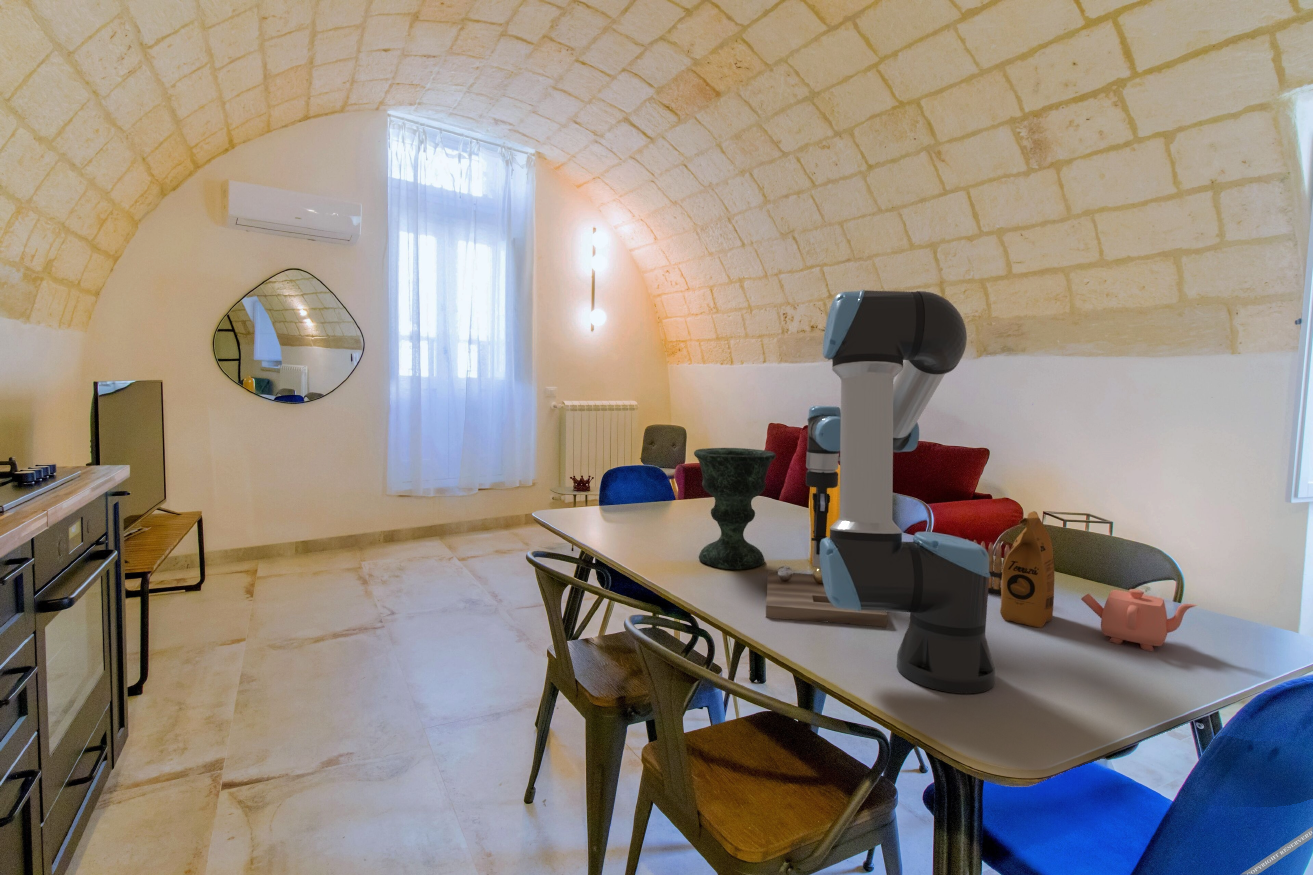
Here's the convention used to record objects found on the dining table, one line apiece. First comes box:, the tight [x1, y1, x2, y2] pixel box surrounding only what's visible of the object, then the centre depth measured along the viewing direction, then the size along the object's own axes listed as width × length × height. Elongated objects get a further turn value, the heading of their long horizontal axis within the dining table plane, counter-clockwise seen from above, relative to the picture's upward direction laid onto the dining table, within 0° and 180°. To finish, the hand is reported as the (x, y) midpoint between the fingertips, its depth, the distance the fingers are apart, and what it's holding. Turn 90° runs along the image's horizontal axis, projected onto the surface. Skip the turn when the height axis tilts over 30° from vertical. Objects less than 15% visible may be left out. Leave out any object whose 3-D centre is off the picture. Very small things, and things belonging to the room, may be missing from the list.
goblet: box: [693, 447, 777, 571], centre depth 181 cm, size 22×23×30 cm
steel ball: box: [777, 565, 794, 581], centre depth 156 cm, size 4×4×4 cm
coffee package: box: [999, 511, 1055, 629], centre depth 141 cm, size 10×12×22 cm
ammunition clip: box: [966, 538, 1010, 596], centre depth 159 cm, size 11×2×12 cm, turn 52°
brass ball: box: [812, 567, 823, 583], centre depth 155 cm, size 4×4×4 cm
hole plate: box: [765, 570, 888, 628], centre depth 149 cm, size 26×24×2 cm
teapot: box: [1080, 588, 1198, 652], centre depth 129 cm, size 14×12×10 cm
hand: (818, 566), depth 162 cm, fingers closed
